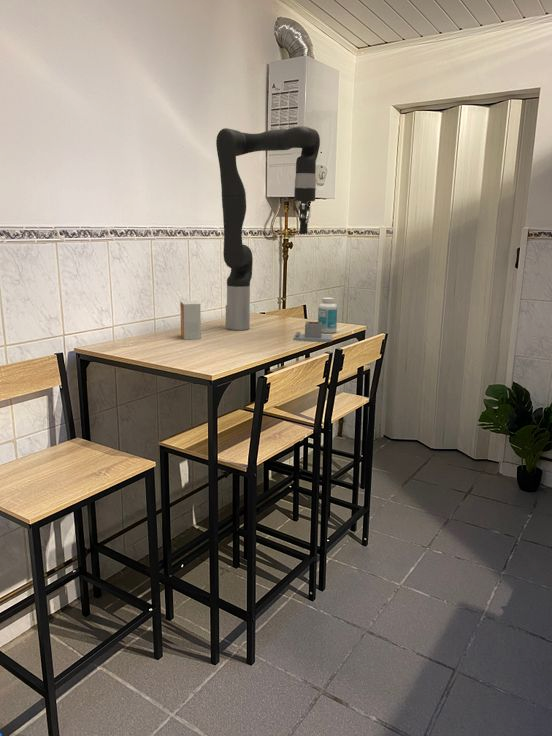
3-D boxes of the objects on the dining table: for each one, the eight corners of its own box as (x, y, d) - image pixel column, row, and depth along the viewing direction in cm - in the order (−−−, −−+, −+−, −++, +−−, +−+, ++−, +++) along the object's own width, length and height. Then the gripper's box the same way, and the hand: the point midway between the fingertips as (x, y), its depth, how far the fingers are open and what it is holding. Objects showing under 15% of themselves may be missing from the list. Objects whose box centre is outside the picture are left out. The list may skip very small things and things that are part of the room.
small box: (180, 335, 217) (179, 300, 213) (197, 335, 218) (197, 300, 215) (183, 339, 209) (183, 303, 206) (201, 339, 211) (200, 303, 208)
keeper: (293, 340, 211) (293, 327, 210) (295, 336, 220) (295, 323, 219) (331, 342, 210) (332, 328, 209) (332, 337, 219) (332, 324, 218)
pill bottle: (336, 330, 233) (337, 297, 230) (336, 333, 226) (337, 299, 223) (317, 329, 234) (319, 296, 231) (317, 333, 227) (318, 298, 224)
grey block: (304, 337, 212) (305, 324, 211) (305, 334, 218) (306, 321, 217) (321, 338, 212) (321, 324, 211) (321, 335, 218) (322, 322, 216)
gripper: (296, 188, 214) (294, 233, 218) (293, 185, 200) (291, 234, 204) (316, 188, 213) (314, 233, 217) (314, 186, 199) (313, 234, 203)
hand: (303, 233), depth 210 cm, fingers open, 8 cm apart
